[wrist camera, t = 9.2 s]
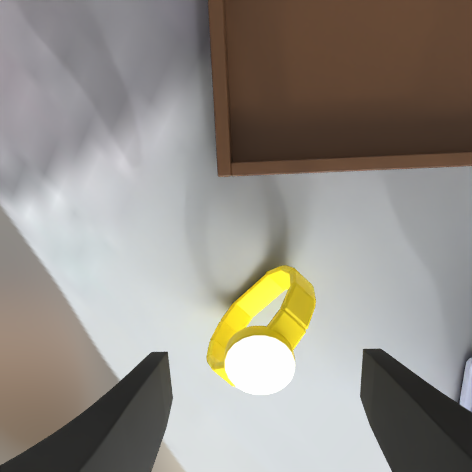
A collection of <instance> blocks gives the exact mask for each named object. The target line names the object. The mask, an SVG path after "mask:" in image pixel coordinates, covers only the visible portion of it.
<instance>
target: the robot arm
mask: <svg viewBox="0 0 472 472" xmlns="http://www.w3.org/2000/svg"><path fill="white" fill-rule="evenodd" d="M360 398H361V401H362V404H363V407H364V410H365V413H366V415H367V418H368V421H369V424H370V426H371V428H372V431H373V433H374V435H375V437H376V439H377V441H378V443H379V445H380V448H381V450H382V452H383V454H384V456H385V458H386V460H387V462H388V464H389V466H390V468H391V470H392V472H472V358H470V359H469V360H468V361H467V362H466V366H465V372H464V379H463V385H462V391H461V397H460V403H459V404H458V403H457V402H455V401H454V400H452V399H451V398H449V397H448V396H446V395H445V394H443V393H442V392H440V391H439V390H437V389H436V388H434V387H433V386H431V385H430V384H429V383H427V382H426V381H424V380H423V379H422V378H420V377H419V376H417V375H416V374H415V373H413V372H412V371H411V370H409V369H408V368H407V367H405V366H404V365H403V364H401V363H400V362H398V361H397V360H396V359H394V358H393V357H392V356H390V355H389V354H388V353H386V352H385V351H383V350H382V349H363V361H362V377H361V392H360ZM172 399H173V395H172V387H171V378H170V369H169V360H168V352H151V353H150V354H149V355H148V356H147V357H146V358H145V359H143V360H142V361H141V362H140V363H139V364H138V365H137V366H136V367H135V368H134V369H133V370H132V371H131V372H130V373H129V374H127V375H126V376H125V377H124V378H123V379H122V380H121V381H120V382H119V383H118V384H117V385H116V386H114V387H113V388H112V389H111V390H110V391H109V392H107V393H106V394H105V395H104V396H102V397H101V398H100V399H99V400H98V401H97V402H95V403H94V404H93V405H92V406H90V407H89V408H88V409H87V410H85V411H84V412H83V413H81V414H80V415H79V416H77V417H76V418H75V419H73V420H72V421H71V422H69V423H68V424H67V425H65V426H64V427H62V428H61V429H59V430H58V431H56V432H55V433H53V434H52V435H50V436H49V437H47V438H45V439H44V440H42V441H41V442H39V443H37V444H36V445H34V446H33V447H31V448H29V449H28V450H26V451H25V452H23V453H21V454H20V455H18V456H16V457H15V458H13V459H11V460H9V461H7V462H6V463H4V464H2V465H0V472H151V471H152V468H153V465H154V462H155V459H156V456H157V453H158V451H159V447H160V444H161V442H162V439H163V436H164V433H165V430H166V427H167V423H168V418H169V414H170V409H171V404H172Z"/></svg>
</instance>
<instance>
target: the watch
mask: <svg viewBox="0 0 472 472" xmlns="http://www.w3.org/2000/svg"><path fill="white" fill-rule="evenodd" d="M287 289H288V292H287V294H286V296H285V299H284V301H283V303H282V305H281V309H279V311H278V312H277V313H276V315H275V316H274V317H273V319H272V320H271V321H270V323H269V324H268V325H267V327H266V326H251V327H247V328H246V326H247V325H248V324H249V322H250V321H251V319H252V318H253V317H254V316H255V315H256V314H257V313H258V312H260V311H261V310H262V309H263V308H264V307H265V306H267V305H268V304H269V303H270V302H271V301H272V300H274V299H275V298H276V297H277V296H278V295H280V294H281V293H282V292H283V291H284V290H287ZM315 303H316V298H315V293H314V287H313V286H312V284H311V283H310V282H309V281H307V280H306V279H305V278H304V277H303V276H302V275H301V274H300V273H299V272H298V271H297V270H296V269H295V268H292V267H290V266H287V265H283V266H279V267H277V268H274V269H272V270H269V271H267V272H266V274H265V275H264V276H263V277H262V278H261V279H260V280H259V281H257V282H256V283H255V284H254V285H253V286H252V287H251V288H250V289H248V290H247V291H246V292H245V293H244V294H243V295H242V296H241V297H239V298H238V299H237V300H236V301H235V302H233V304H232V305H231V306H230V308H229V309H228V311H227V312H226V313H225V315H224V316H223V317H222V319H221V322H219V324H218V326H217V328H216V330H215V332H214V334H213V335H212V337H211V339H210V340H211V341H210V342H209V347H208V352H207V362H208V364H209V365H210V367H211V368H212V370H213V371H215V372H216V373H217V374H218V375H219V376H221V377H222V378H223V379H224V380H225V381H227V382H228V383H229V384H230V385H231V386H234V387H238V388H239V389H241V390H242V391H244V392H247V393H251V394H254V395H267V394H271V393H275V392H277V391H279V390H280V389H282V388H284V387H285V386H286V385H287V384H288V383H289V382H290V381H291V379H292V377H293V374H294V372H295V357H294V352H293V350H294V348H295V347H296V345H297V344H298V343H299V341H300V340H301V338H302V337H303V335H304V334H305V333H306V329H308V326H309V323H310V320H311V317H312V314H313V312H314V309H315Z"/></svg>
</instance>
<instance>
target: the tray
mask: <svg viewBox="0 0 472 472" xmlns="http://www.w3.org/2000/svg"><path fill="white" fill-rule="evenodd" d="M208 13H209V30H210V48H211V65H212V82H213V99H214V117H215V134H216V151H217V169H218V176H219V177H228V176H231V175H232V176H251V175H274V174H298V173H321V172H344V171H367V170H390V169H413V168H437V167H460V166H472V0H208Z"/></svg>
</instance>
